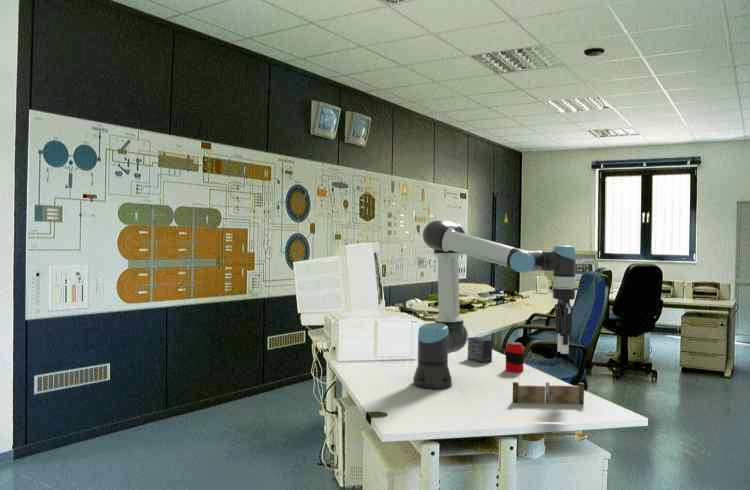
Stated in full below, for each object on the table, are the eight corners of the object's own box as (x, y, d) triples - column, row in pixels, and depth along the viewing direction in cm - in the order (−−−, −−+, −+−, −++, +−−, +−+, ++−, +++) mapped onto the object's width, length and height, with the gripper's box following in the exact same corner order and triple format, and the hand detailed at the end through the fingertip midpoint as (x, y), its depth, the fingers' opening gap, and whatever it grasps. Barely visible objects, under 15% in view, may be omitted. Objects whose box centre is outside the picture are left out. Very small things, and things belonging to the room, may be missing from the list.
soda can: (507, 367, 247) (507, 341, 247) (524, 369, 245) (524, 342, 244) (504, 371, 240) (504, 344, 240) (522, 373, 238) (522, 345, 237)
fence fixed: (513, 403, 192) (513, 383, 192) (511, 401, 194) (512, 381, 194) (545, 404, 192) (545, 384, 191) (543, 402, 194) (544, 382, 193)
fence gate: (546, 403, 192) (546, 383, 192) (544, 402, 193) (545, 382, 193) (584, 404, 191) (584, 384, 191) (582, 402, 193) (583, 382, 193)
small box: (492, 361, 259) (493, 339, 259) (482, 363, 256) (483, 340, 255) (476, 357, 268) (477, 336, 268) (466, 359, 264) (467, 337, 264)
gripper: (582, 290, 193) (580, 357, 193) (567, 286, 209) (566, 348, 209) (560, 289, 193) (559, 356, 193) (547, 286, 209) (546, 347, 209)
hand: (562, 352), depth 201 cm, fingers open, 3 cm apart
